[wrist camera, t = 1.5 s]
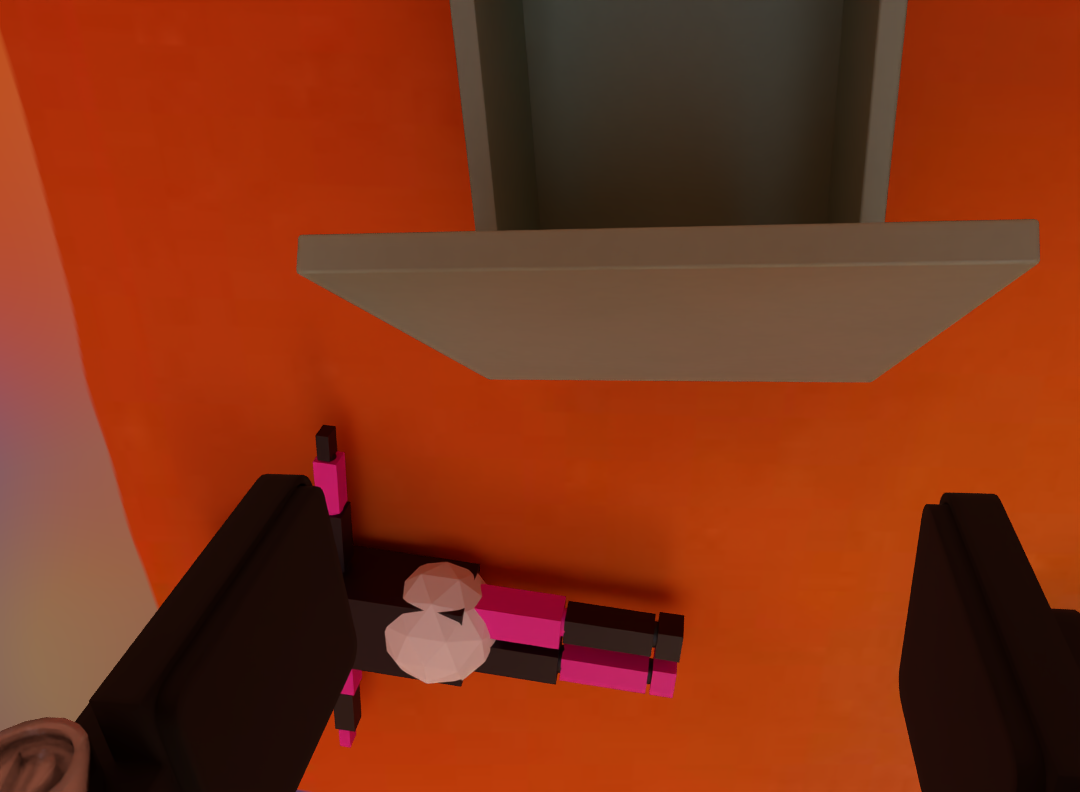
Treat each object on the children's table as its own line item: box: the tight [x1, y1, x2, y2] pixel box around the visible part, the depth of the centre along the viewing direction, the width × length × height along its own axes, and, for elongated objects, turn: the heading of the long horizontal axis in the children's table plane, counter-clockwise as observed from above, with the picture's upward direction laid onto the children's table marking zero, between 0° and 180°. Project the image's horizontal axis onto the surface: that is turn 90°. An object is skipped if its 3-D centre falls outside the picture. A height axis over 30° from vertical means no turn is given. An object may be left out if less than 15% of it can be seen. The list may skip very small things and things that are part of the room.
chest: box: [450, 0, 908, 231], centre depth 34 cm, size 16×14×9 cm
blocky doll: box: [313, 425, 684, 748], centre depth 49 cm, size 22×25×6 cm
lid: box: [297, 219, 1040, 382], centre depth 25 cm, size 16×14×1 cm
